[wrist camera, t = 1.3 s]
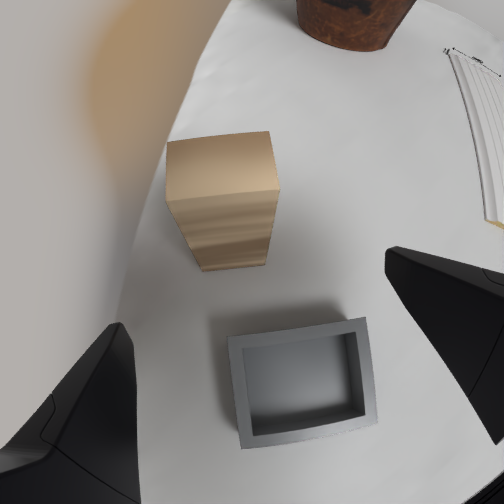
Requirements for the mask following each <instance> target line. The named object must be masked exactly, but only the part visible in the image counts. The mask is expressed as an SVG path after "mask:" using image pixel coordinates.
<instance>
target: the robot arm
mask: <svg viewBox="0 0 504 504" xmlns="http://www.w3.org/2000/svg"><path fill="white" fill-rule="evenodd" d="M385 274H386V277H387V278H388V280H389V282H390V283H391V285H392V286H393V288H394V290H395V291H396V293H397V295H398V296H399V298H400V300H401V301H402V303H403V304H404V306H405V308H406V309H407V310H408V312H409V313H410V315H411V316H412V317H413V319H414V320H415V321H416V323H417V324H418V325H419V327H420V328H421V330H422V331H423V332H424V334H425V335H426V337H427V338H428V339H429V341H430V342H431V344H432V345H433V347H434V348H435V349H436V351H437V352H438V354H439V355H440V357H441V358H442V360H443V361H444V363H445V364H446V366H447V367H448V368H449V370H450V372H451V373H452V375H453V376H454V378H455V379H456V381H457V382H458V384H459V385H460V387H461V388H462V390H463V392H464V393H465V395H466V396H467V398H468V400H469V401H470V403H471V405H472V406H473V408H474V410H475V411H476V413H477V415H478V416H479V418H480V420H481V421H482V423H483V425H484V427H485V428H486V430H487V432H488V434H489V435H490V437H491V439H492V441H493V442H494V444H495V445H497V444H498V443H500V442H501V441H502V440H503V439H504V274H503V273H499V272H495V271H491V270H488V269H484V268H480V267H477V266H473V265H469V264H466V263H462V262H458V261H454V260H450V259H447V258H443V257H439V256H435V255H431V254H427V253H423V252H419V251H415V250H411V249H407V248H403V247H399V246H395V247H392V248H389V249H387V250H386V252H385ZM0 504H141V496H140V484H139V470H138V450H137V382H136V371H135V358H134V346H133V342H132V340H131V338H130V336H129V334H128V333H127V331H126V329H125V327H124V325H123V324H122V323H120V322H118V323H113V324H110V325H108V327H107V328H106V329H105V330H104V331H103V332H102V334H101V335H100V336H99V337H98V338H97V339H96V340H95V342H93V344H92V345H91V346H90V347H89V348H88V349H87V351H86V352H85V353H84V354H83V355H82V356H81V358H80V359H79V360H78V361H77V362H76V363H75V365H74V366H73V367H72V368H71V369H70V371H69V372H68V373H67V374H66V375H65V377H64V378H63V379H62V380H61V381H60V383H59V384H58V385H57V386H56V387H55V389H54V390H53V391H52V394H50V395H49V396H48V397H47V399H46V400H45V401H44V402H43V403H42V405H41V406H40V407H39V408H38V409H37V411H36V412H35V413H34V414H33V415H32V416H31V417H30V418H29V420H28V421H27V422H26V423H25V424H24V425H23V426H22V427H21V428H20V430H19V431H18V432H17V433H16V434H15V435H14V436H13V437H12V438H11V440H10V441H9V442H8V443H7V444H6V445H5V446H4V447H3V448H1V449H0ZM462 504H504V470H503V471H502V472H501V473H500V474H499V475H498V476H497V477H495V478H494V479H493V480H492V481H491V482H489V483H488V484H487V485H486V486H484V487H483V488H482V489H481V490H479V491H478V492H477V493H475V494H474V495H473V496H471V497H470V498H469V499H467V500H466V501H465V502H463V503H462Z"/></svg>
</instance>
